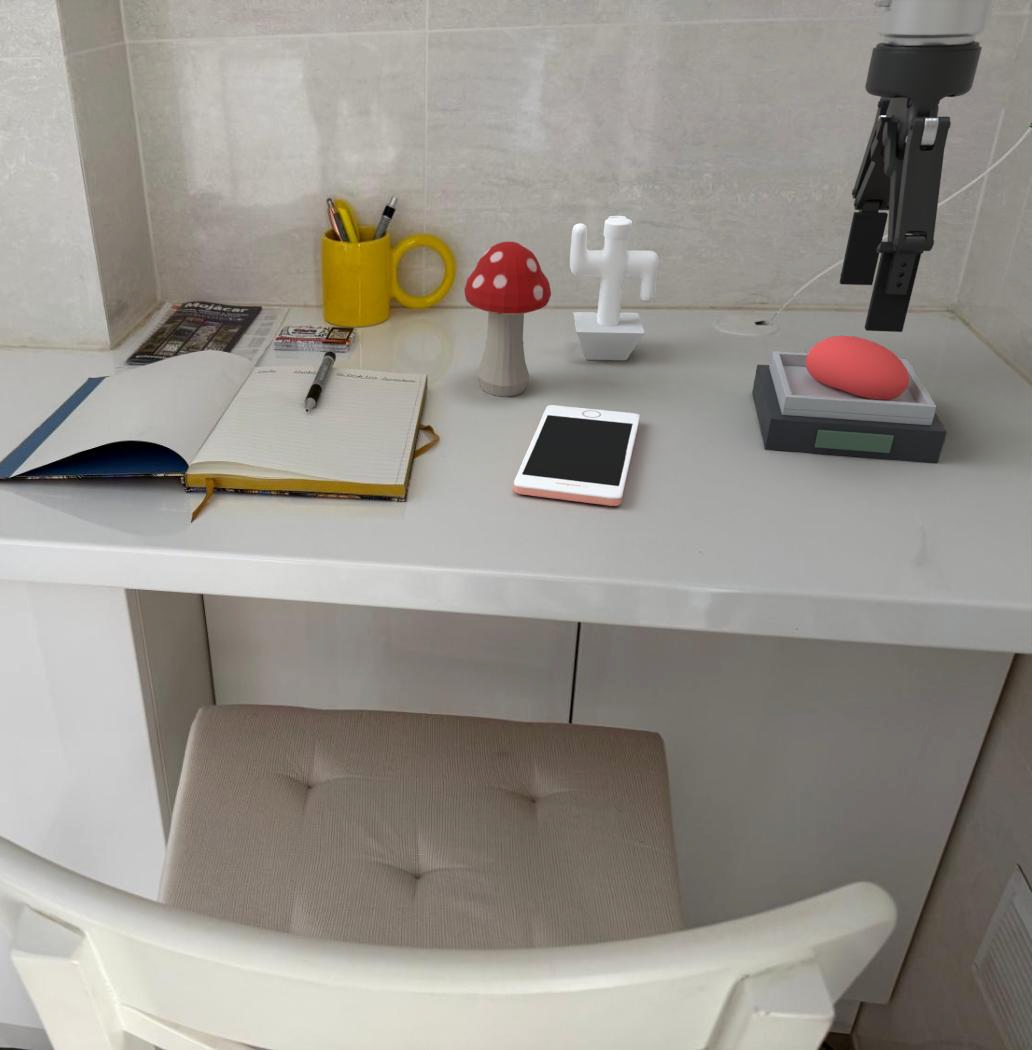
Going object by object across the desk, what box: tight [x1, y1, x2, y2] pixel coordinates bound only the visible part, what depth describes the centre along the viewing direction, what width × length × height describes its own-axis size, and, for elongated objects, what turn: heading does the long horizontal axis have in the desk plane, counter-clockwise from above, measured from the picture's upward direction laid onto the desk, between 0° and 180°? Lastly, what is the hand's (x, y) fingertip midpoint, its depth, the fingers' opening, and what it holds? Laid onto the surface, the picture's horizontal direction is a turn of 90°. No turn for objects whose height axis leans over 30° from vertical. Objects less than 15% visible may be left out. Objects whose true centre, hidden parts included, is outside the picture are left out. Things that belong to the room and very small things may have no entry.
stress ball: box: [806, 335, 909, 400], centre depth 90 cm, size 5×9×6 cm, turn 19°
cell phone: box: [512, 404, 641, 507], centre depth 89 cm, size 9×18×1 cm, turn 160°
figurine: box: [569, 215, 660, 361], centre depth 109 cm, size 7×9×15 cm
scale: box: [751, 350, 948, 464], centre depth 92 cm, size 14×14×5 cm
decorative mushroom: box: [464, 241, 552, 398], centre depth 101 cm, size 10×9×15 cm
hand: (868, 305), depth 88 cm, fingers open, 13 cm apart
